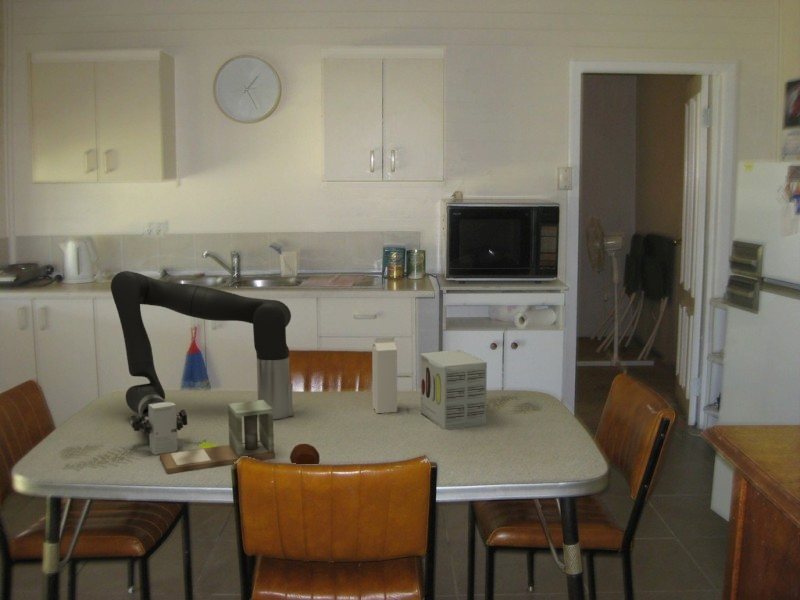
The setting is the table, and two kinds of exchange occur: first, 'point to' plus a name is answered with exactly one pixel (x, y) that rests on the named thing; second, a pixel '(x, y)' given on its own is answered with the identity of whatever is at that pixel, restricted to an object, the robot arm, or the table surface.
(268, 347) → the robot arm
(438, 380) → the supplement box
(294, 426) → the table surface
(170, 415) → the skincare box
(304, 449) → the potato
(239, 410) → the board
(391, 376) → the milk
